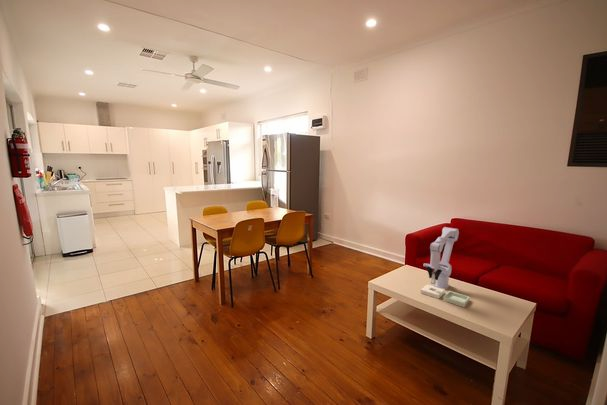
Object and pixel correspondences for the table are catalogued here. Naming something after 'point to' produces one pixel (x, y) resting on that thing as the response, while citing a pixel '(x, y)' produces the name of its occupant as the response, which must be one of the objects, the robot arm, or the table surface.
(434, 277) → the lock pin
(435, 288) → the lock block
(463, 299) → the pin tray
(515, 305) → the table surface
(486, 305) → the table surface
